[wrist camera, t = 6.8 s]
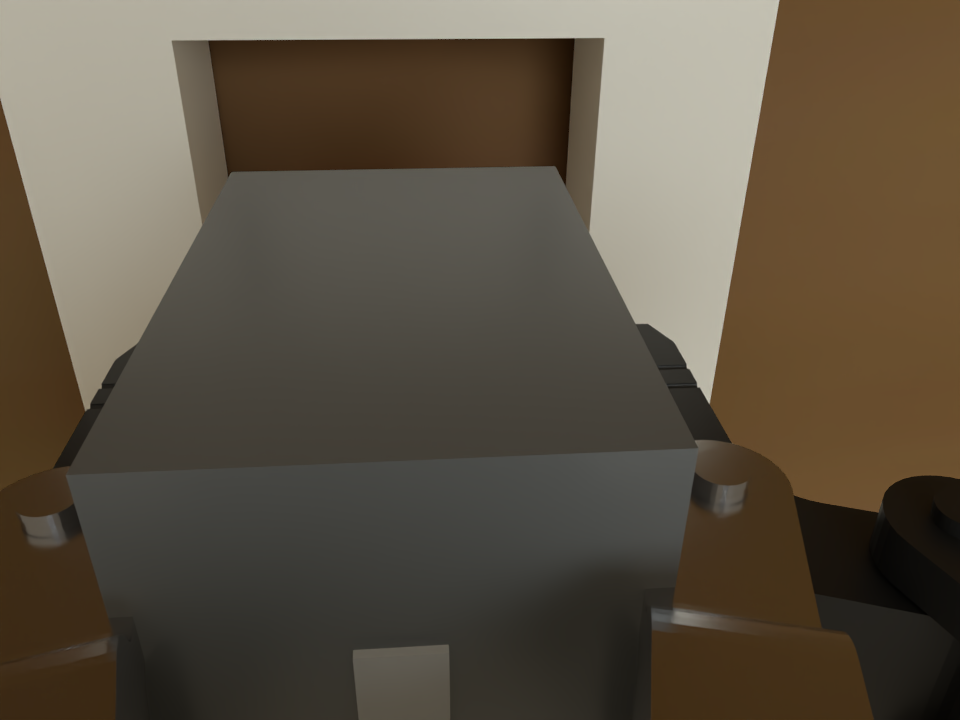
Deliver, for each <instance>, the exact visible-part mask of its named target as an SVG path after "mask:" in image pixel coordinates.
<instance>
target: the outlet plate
mask: <svg viewBox="0 0 960 720" xmlns="http://www.w3.org/2000/svg"><path fill="white" fill-rule="evenodd" d="M778 5H779V0H0V99H1V103H2V106H3V110H4V114H5V117H6V121H7V125H8V129H9V132H10V136H11V140H12V143H13V147H14V151H15V154H16V158H17V162H18V165H19V169H20V173H21V176H22V180H23V184H24V187H25V191H26V195H27V198H28V202H29V206H30V209H31V213H32V217H33V221H34V224H35V228H36V232H37V235H38V239H39V243H40V246H41V250H42V254H43V257H44V261H45V265H46V268H47V272H48V276H49V279H50V283H51V287H52V290H53V294H54V298H55V301H56V305H57V309H58V313H59V316H60V320H61V324H62V327H63V331H64V335H65V338H66V342H67V346H68V349H69V353H70V357H71V360H72V364H73V368H74V371H75V375H76V379H77V382H78V386H79V390H80V393H81V397H82V401H83V405H84V408H85V412H86V410H87V409H90V403H91V401H92V399H93V398H94V396H95V394H96V393H97V391H98V389H102V385H101V384H102V382H103V380H104V379H105V377H106V375H107V373H108V372H109V370H110V368H111V366H112V365H113V363H114V361H115V360H116V359H117V358H118V357H120V356H121V355H123V354H124V353H125V352H127V351H128V350H129V349H131V348H132V347H133V346H135V345H136V344H137V343H138V342H139V340H140V338H141V337H142V335H143V333H144V331H145V329H146V327H147V326H148V324H149V322H150V320H151V318H152V316H153V315H154V313H155V311H156V309H157V307H158V305H159V304H160V302H161V300H162V298H163V296H164V294H165V293H166V291H167V289H168V287H169V285H170V283H171V282H172V280H173V278H174V276H175V274H176V272H177V271H178V269H179V267H180V265H181V263H182V261H183V260H184V258H185V256H186V254H187V252H188V251H189V249H190V247H191V245H192V243H193V241H194V240H195V238H196V236H197V234H198V232H199V230H200V229H201V227H202V225H203V223H204V221H205V219H206V218H207V216H208V214H209V212H210V210H211V208H212V207H213V205H214V203H215V201H216V199H217V197H218V196H219V194H220V192H221V190H222V188H223V186H224V185H225V183H226V181H227V179H228V173H227V166H226V159H225V152H224V145H223V138H222V132H221V125H220V118H219V111H218V104H217V97H216V90H215V83H214V77H213V70H212V63H211V56H210V49H209V42H208V40H339V39H515V38H575V43H574V59H573V75H572V91H571V108H570V124H569V140H568V157H567V173H566V188H567V190H568V192H569V194H570V196H571V198H572V200H573V202H574V204H575V206H576V208H577V210H578V212H579V214H580V216H581V218H582V220H583V222H584V224H585V226H586V228H587V230H588V232H589V234H590V236H591V237H592V239H593V241H594V243H595V245H596V247H597V249H598V251H599V253H600V255H601V257H602V259H603V261H604V263H605V265H606V267H607V269H608V271H609V273H610V275H611V277H612V279H613V281H614V283H615V285H616V287H617V289H618V291H619V293H620V295H621V297H622V298H623V300H624V302H625V304H626V306H627V308H628V310H629V312H630V314H631V316H632V318H633V320H634V322H635V324H649V325H650V326H652V327H653V328H655V329H656V330H658V331H659V332H660V333H662V334H663V335H665V336H666V337H667V338H669V339H670V340H672V341H673V342H674V343H675V345H676V346H677V348H678V350H679V352H680V353H681V355H682V357H683V359H684V360H685V362H686V364H687V369H690V371H691V373H692V374H693V376H694V378H695V380H696V381H697V388H699V387H700V389H701V390H702V392H703V394H704V396H705V397H706V399H707V401H708V403H710V398H711V392H712V386H713V380H714V375H715V369H716V363H717V357H718V351H719V346H720V340H721V334H722V328H723V323H724V317H725V311H726V305H727V299H728V294H729V288H730V282H731V276H732V271H733V265H734V259H735V253H736V247H737V242H738V236H739V230H740V224H741V219H742V213H743V207H744V201H745V195H746V190H747V184H748V178H749V172H750V167H751V161H752V155H753V149H754V143H755V138H756V132H757V126H758V120H759V114H760V109H761V103H762V97H763V91H764V86H765V80H766V74H767V68H768V62H769V57H770V51H771V45H772V39H773V34H774V28H775V22H776V16H777V10H778Z"/></svg>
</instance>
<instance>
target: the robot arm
mask: <svg viewBox="0 0 960 720" xmlns="http://www.w3.org/2000/svg"><path fill="white" fill-rule="evenodd" d="M636 326H637V328H638V330H639V332H640V334H641V336H642V338H643V340H644V342H645V344H646V346H647V348H648V350H649V352H650V354H651V356H652V358H653V360H654V361H655V363H656V365H657V367H658V369H659V371H660V373H661V375H662V377H663V379H664V381H665V383H666V385H667V387H668V389H669V391H670V393H671V395H672V397H673V399H674V401H675V403H676V405H677V407H678V409H679V411H680V413H681V415H682V417H683V419H684V421H685V422H686V424H687V426H688V428H689V430H690V432H691V434H692V436H693V438H694V440H695V442H696V444H697V446H698V448H699V449H698V455H697V461H696V467H695V473H694V479H693V485H692V491H691V497H690V503H689V509H688V515H687V521H686V527H685V532H684V538H683V544H682V550H681V556H680V562H679V568H678V574H677V580H676V586H675V587H669V588H650V589H645V594H644V601H643V608H642V614H641V621H640V628H639V646H638V664H637V677H636V688H635V697H634V705H633V712H632V719H631V720H960V479H955V478H951V477H943V476H915V477H910V478H906V479H903V480H900V481H898V482H896V483H894V484H893V485H892V486H890V487H889V488H888V490H887V491H886V492H885V494H884V497H883V500H882V504H881V507H880V510H879V513H877V512H871V511H865V510H859V509H853V508H847V507H842V506H836V505H830V504H824V503H819V502H814V501H810V500H806V499H803V498H800V497H796V496H794V495H793V490H792V487H791V484H790V482H789V480H788V478H787V477H786V475H785V474H784V473H783V472H782V470H781V469H780V468H779V467H778V466H776V465H775V464H774V463H773V462H772V461H770V460H769V459H767V458H765V457H764V456H762V455H761V454H759V453H756V452H754V451H752V450H750V449H747V448H745V447H742V446H739V445H735V444H732V443H731V441H730V440H729V438H728V436H727V434H726V432H725V431H724V429H723V427H722V425H721V424H720V422H719V420H718V418H717V417H716V415H715V413H714V411H713V410H712V408H711V406H710V404H709V403H708V401H707V399H706V397H705V396H704V394H703V392H702V390H701V389H700V387H699V388H697V381H696V380H695V378H694V376H693V374H692V373H691V371H690V369H687V364H686V362H685V360H684V359H683V357H682V355H681V353H680V352H679V350H678V348H677V346H676V345H675V343H674V342H673V341H672V340H670V339H669V338H667V337H666V336H665V335H663V334H662V333H660V332H659V331H658V330H656V329H655V328H653V327H652V326H650V325H649V324H636ZM137 344H138V343H137ZM137 344H136V345H135V346H133V347H132V348H131V349H129V350H128V351H127V352H125V353H124V354H123V355H121V356H120V357H118V358H117V359H116V360H115V361H114V363H113V365H112V366H111V368H110V370H109V372H108V373H107V375H106V377H105V379H104V380H103V382H102V384H101V385H102V389H98V391H97V393H96V394H95V396H94V398H93V399H92V401H91V403H90V409H87V410H86V412H85V413H84V415H83V417H82V419H81V420H80V422H79V424H78V426H77V427H76V429H75V431H74V433H73V434H72V436H71V438H70V440H69V441H68V443H67V445H66V447H65V448H64V450H63V452H62V454H61V455H60V457H59V459H58V461H57V462H56V464H55V466H54V468H53V469H51V470H46V471H43V472H39V473H36V474H33V475H30V476H28V477H26V478H23V479H21V480H18V481H17V482H15V483H13V484H11V485H9V486H7V487H5V488H4V489H2V490H1V491H0V720H151V719H150V713H149V707H148V699H147V690H146V677H145V659H144V655H143V652H142V648H141V645H140V641H139V637H138V634H137V630H136V626H135V623H134V619H133V617H114V618H108V615H107V612H106V609H105V605H104V602H103V599H102V595H101V592H100V589H99V585H98V582H97V578H96V575H95V572H94V568H93V565H92V562H91V558H90V555H89V552H88V548H87V545H86V542H85V538H84V535H83V531H82V528H81V525H80V521H79V518H78V515H77V511H76V508H75V505H74V501H73V498H72V494H71V491H70V488H69V484H68V481H67V478H66V474H67V472H68V470H69V468H70V466H71V465H72V463H73V461H74V459H75V457H76V455H77V454H78V452H79V450H80V448H81V446H82V444H83V443H84V441H85V439H86V437H87V435H88V433H89V432H90V430H91V428H92V426H93V424H94V422H95V421H96V419H97V417H98V415H99V413H100V412H101V410H102V408H103V406H104V404H105V402H106V401H107V399H108V397H109V395H110V393H111V391H112V390H113V388H114V386H115V384H116V382H117V380H118V379H119V377H120V375H121V373H122V371H123V369H124V368H125V366H126V364H127V362H128V360H129V358H130V357H131V355H132V353H133V351H134V349H135V347H136V346H137Z"/></svg>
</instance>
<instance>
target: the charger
mask: <svg viewBox="0 0 960 720" xmlns="http://www.w3.org/2000/svg"><path fill="white" fill-rule="evenodd" d="M698 449H699V448H698V446H697V444H696V442H695V440H694V438H693V436H692V434H691V432H690V430H689V428H688V426H687V424H686V422H685V421H684V419H683V417H682V415H681V413H680V411H679V409H678V407H677V405H676V403H675V401H674V399H673V397H672V395H671V393H670V391H669V389H668V387H667V385H666V383H665V381H664V379H663V377H662V375H661V373H660V371H659V369H658V367H657V365H656V363H655V361H654V360H653V358H652V356H651V354H650V352H649V350H648V348H647V346H646V344H645V342H644V340H643V338H642V336H641V334H640V332H639V330H638V328H637V326H636V324H635V322H634V320H633V318H632V316H631V314H630V312H629V310H628V308H627V306H626V304H625V302H624V300H623V298H622V297H621V295H620V293H619V291H618V289H617V287H616V285H615V283H614V281H613V279H612V277H611V275H610V273H609V271H608V269H607V267H606V265H605V263H604V261H603V259H602V257H601V255H600V253H599V251H598V249H597V247H596V245H595V243H594V241H593V239H592V237H591V236H590V234H589V232H588V230H587V228H586V226H585V224H584V222H583V220H582V218H581V216H580V214H579V212H578V210H577V208H576V206H575V204H574V202H573V200H572V198H571V196H570V194H569V192H568V190H567V188H566V186H565V184H564V182H563V180H562V178H561V176H560V175H559V173H558V171H557V169H556V167H555V166H538V167H481V168H424V169H367V170H310V171H253V172H231V174H230V176H229V177H228V179H227V181H226V183H225V185H224V186H223V188H222V190H221V192H220V194H219V196H218V197H217V199H216V201H215V203H214V205H213V207H212V208H211V210H210V212H209V214H208V216H207V218H206V219H205V221H204V223H203V225H202V227H201V229H200V230H199V232H198V234H197V236H196V238H195V240H194V241H193V243H192V245H191V247H190V249H189V251H188V252H187V254H186V256H185V258H184V260H183V261H182V263H181V265H180V267H179V269H178V271H177V272H176V274H175V276H174V278H173V280H172V282H171V283H170V285H169V287H168V289H167V291H166V293H165V294H164V296H163V298H162V300H161V302H160V304H159V305H158V307H157V309H156V311H155V313H154V315H153V316H152V318H151V320H150V322H149V324H148V326H147V327H146V329H145V331H144V333H143V335H142V337H141V338H140V340H139V342H138V344H137V346H136V347H135V349H134V351H133V353H132V355H131V357H130V358H129V360H128V362H127V364H126V366H125V368H124V369H123V371H122V373H121V375H120V377H119V379H118V380H117V382H116V384H115V386H114V388H113V390H112V391H111V393H110V395H109V397H108V399H107V401H106V402H105V404H104V406H103V408H102V410H101V412H100V413H99V415H98V417H97V419H96V421H95V422H94V424H93V426H92V428H91V430H90V432H89V433H88V435H87V437H86V439H85V441H84V443H83V444H82V446H81V448H80V450H79V452H78V454H77V455H76V457H75V459H74V461H73V463H72V465H71V466H70V468H69V470H68V472H67V474H66V478H67V481H68V484H69V488H70V491H71V494H72V498H73V501H74V505H75V508H76V511H77V515H78V518H79V521H80V525H81V528H82V531H83V535H84V538H85V542H86V545H87V548H88V552H89V555H90V558H91V562H92V565H93V568H94V572H95V575H96V578H97V582H98V585H99V589H100V592H101V595H102V599H103V602H104V605H105V609H106V612H107V615H108V618H114V617H133V619H134V623H135V626H136V630H137V634H138V637H139V641H140V645H141V648H142V652H143V655H144V659H145V677H146V690H147V699H148V707H149V713H150V719H151V720H631V719H632V712H633V705H634V697H635V688H636V677H637V664H638V646H639V628H640V621H641V614H642V608H643V601H644V594H645V589H650V588H669V587H675V586H676V580H677V574H678V568H679V562H680V556H681V550H682V544H683V538H684V532H685V527H686V521H687V515H688V509H689V503H690V497H691V491H692V485H693V479H694V473H695V467H696V461H697V455H698Z"/></svg>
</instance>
